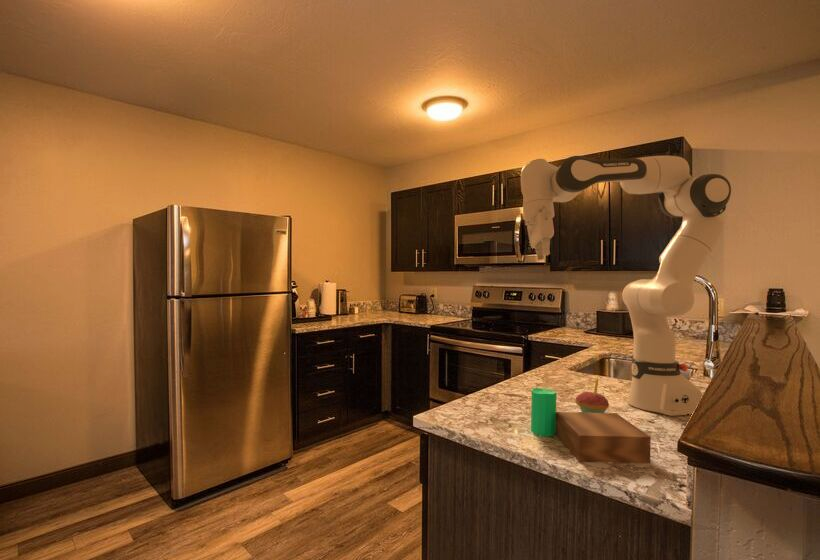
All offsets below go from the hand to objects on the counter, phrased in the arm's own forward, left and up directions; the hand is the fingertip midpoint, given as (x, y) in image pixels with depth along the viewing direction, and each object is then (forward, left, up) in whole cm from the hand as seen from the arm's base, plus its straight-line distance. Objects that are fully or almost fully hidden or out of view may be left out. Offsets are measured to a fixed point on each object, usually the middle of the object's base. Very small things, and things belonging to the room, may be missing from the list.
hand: (543, 257), depth 124 cm
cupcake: (-11, +9, -45) cm, 48 cm away
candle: (+6, +20, -45) cm, 50 cm away
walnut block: (-4, +29, -46) cm, 54 cm away
